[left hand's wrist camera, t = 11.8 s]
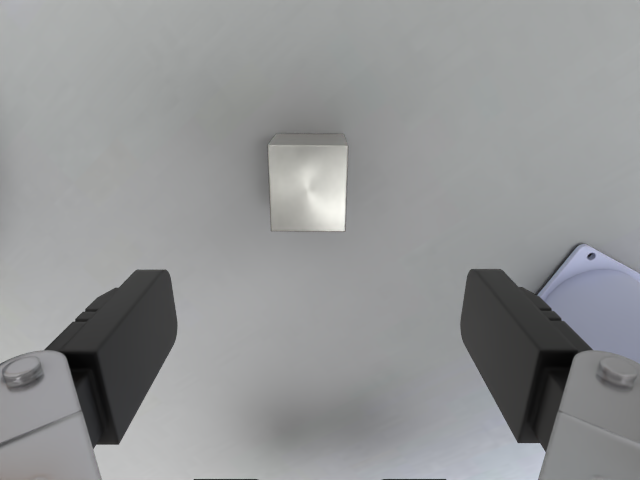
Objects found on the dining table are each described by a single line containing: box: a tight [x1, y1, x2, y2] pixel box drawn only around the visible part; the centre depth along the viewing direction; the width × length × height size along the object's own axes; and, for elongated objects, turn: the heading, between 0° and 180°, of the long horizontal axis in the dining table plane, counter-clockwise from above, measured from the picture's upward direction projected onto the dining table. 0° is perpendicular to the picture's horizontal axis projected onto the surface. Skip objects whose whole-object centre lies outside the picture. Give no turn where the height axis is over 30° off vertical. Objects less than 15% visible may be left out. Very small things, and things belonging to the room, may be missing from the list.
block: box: [267, 134, 348, 232], centre depth 23 cm, size 4×5×4 cm
